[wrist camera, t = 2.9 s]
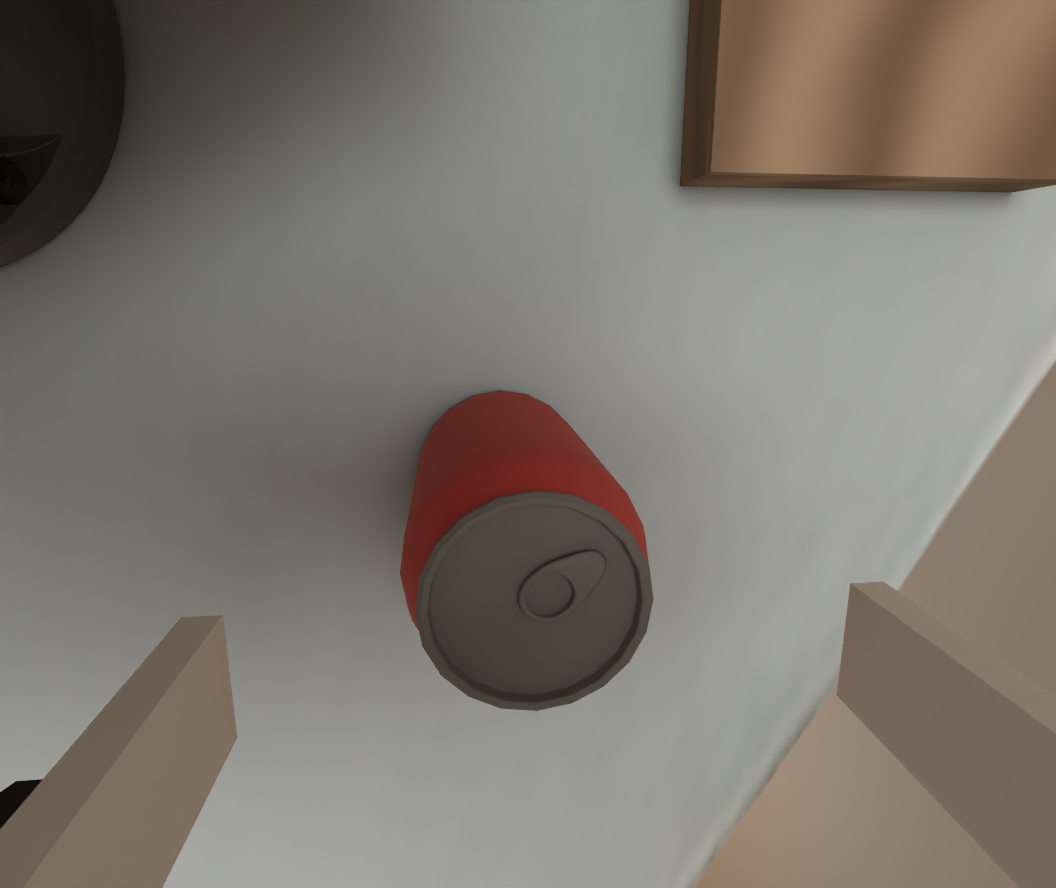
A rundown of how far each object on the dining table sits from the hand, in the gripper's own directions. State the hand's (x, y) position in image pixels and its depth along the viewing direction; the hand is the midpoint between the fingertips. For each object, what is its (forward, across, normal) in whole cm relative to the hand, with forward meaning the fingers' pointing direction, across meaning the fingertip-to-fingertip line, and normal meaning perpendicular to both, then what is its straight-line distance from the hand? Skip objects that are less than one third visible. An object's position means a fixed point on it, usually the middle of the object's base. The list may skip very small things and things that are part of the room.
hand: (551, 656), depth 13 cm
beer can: (+14, 0, 0) cm, 14 cm away
